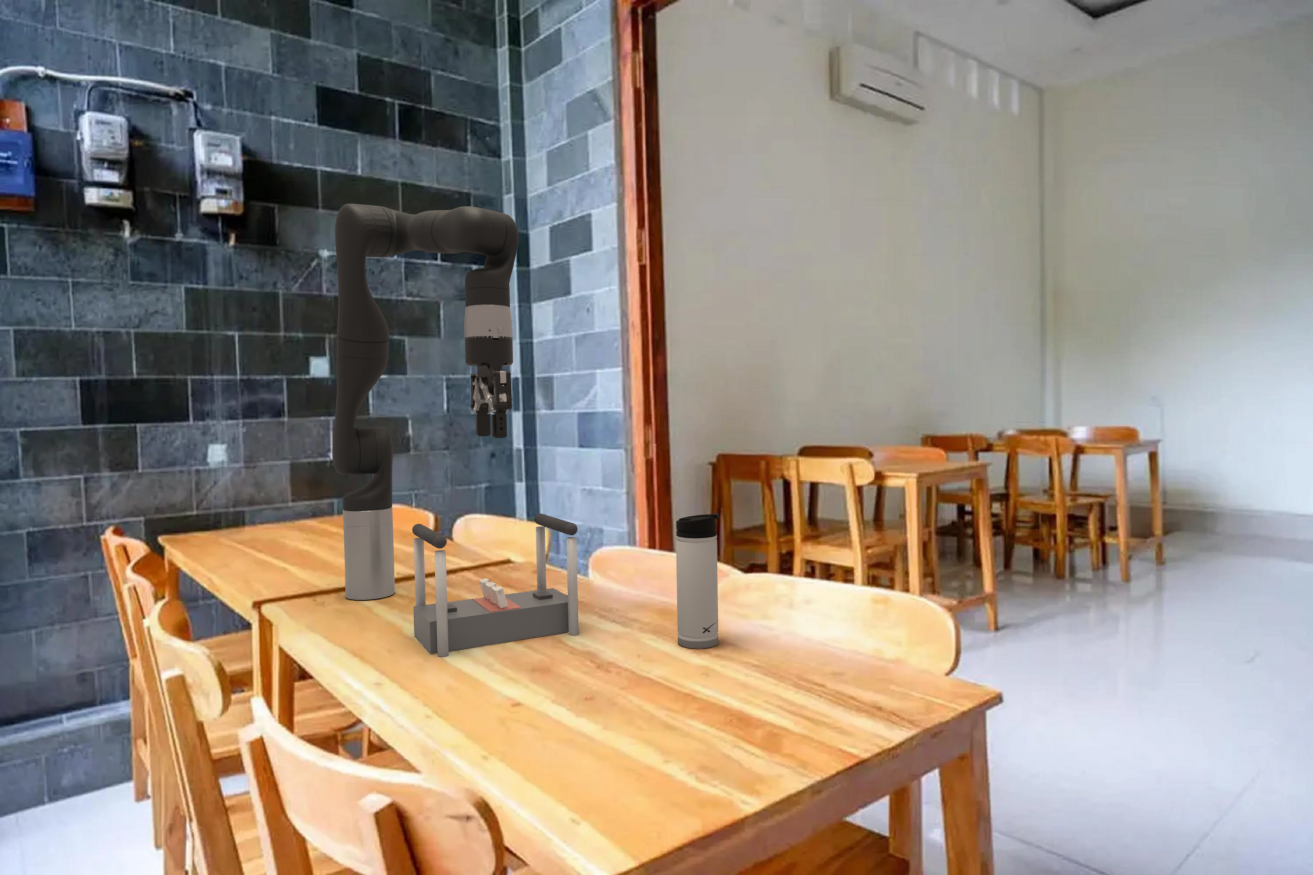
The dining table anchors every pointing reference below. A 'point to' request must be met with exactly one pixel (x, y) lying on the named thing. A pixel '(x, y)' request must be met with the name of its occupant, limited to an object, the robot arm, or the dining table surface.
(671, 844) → the dining table surface
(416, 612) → the pdu
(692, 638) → the travel mug
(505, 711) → the dining table surface
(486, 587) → the breaker paddles
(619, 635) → the dining table surface
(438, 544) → the dark grey rounded rod
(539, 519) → the dark grey rod
